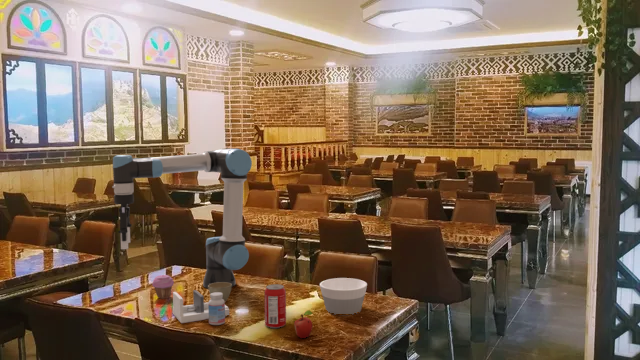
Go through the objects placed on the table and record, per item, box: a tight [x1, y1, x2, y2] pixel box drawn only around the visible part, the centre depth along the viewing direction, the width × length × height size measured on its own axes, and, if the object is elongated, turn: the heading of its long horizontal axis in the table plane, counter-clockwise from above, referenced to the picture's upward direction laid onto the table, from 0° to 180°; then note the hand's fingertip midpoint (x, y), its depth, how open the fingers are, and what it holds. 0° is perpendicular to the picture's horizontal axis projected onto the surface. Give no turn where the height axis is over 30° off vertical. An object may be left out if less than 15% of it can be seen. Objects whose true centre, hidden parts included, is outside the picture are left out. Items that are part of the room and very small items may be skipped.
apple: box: [293, 310, 313, 339], centre depth 201 cm, size 8×7×10 cm
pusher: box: [187, 289, 205, 313], centre depth 227 cm, size 5×10×8 cm, turn 28°
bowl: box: [319, 277, 368, 315], centre depth 233 cm, size 19×19×11 cm
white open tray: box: [172, 291, 230, 324], centre depth 228 cm, size 19×13×9 cm
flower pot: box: [207, 282, 233, 303], centre depth 246 cm, size 10×10×7 cm
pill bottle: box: [208, 292, 226, 326], centre depth 218 cm, size 6×6×11 cm
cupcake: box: [152, 274, 175, 299], centre depth 253 cm, size 9×9×10 cm
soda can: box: [263, 284, 287, 329], centre depth 213 cm, size 8×8×15 cm
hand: (125, 245), depth 234 cm, fingers open, 13 cm apart
